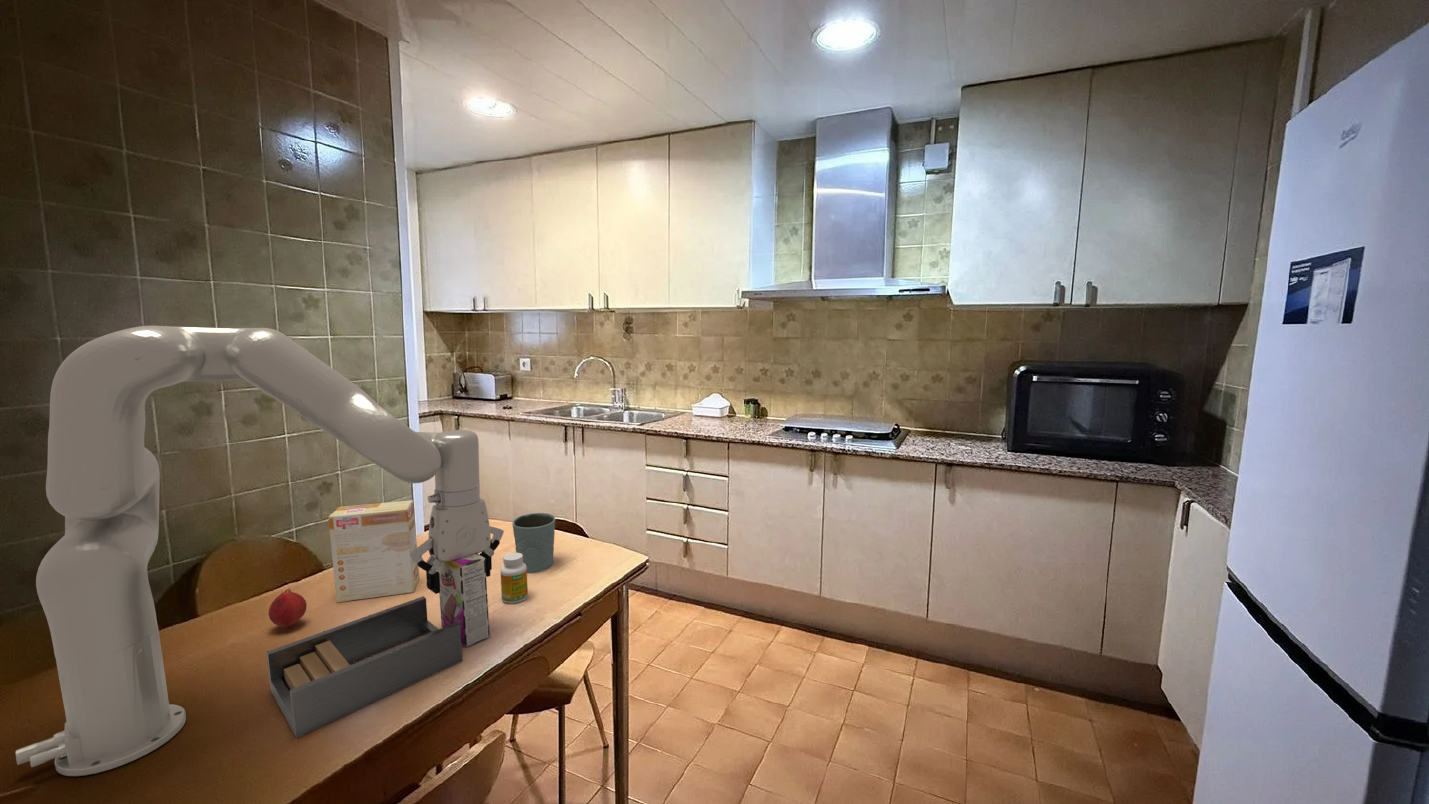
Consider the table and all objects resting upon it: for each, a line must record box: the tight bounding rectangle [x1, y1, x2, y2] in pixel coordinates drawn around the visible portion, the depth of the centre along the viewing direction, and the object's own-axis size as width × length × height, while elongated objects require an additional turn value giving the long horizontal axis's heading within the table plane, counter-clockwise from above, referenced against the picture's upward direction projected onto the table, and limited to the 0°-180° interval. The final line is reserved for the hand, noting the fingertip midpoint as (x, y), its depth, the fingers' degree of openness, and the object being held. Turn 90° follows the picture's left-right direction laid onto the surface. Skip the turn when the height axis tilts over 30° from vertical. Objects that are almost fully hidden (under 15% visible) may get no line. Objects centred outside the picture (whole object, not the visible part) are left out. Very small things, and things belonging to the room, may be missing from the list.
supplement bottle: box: [500, 552, 529, 605], centre depth 118 cm, size 5×5×10 cm
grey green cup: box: [511, 512, 556, 574], centre depth 134 cm, size 10×10×12 cm
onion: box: [268, 587, 308, 628], centre depth 106 cm, size 6×6×8 cm
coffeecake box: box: [328, 500, 420, 603], centre depth 120 cm, size 15×7×20 cm, turn 108°
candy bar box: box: [437, 553, 491, 648], centre depth 104 cm, size 11×5×16 cm, turn 49°
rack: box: [266, 595, 463, 739], centre depth 91 cm, size 24×15×7 cm, turn 140°
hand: (460, 582), depth 104 cm, fingers open, 9 cm apart
